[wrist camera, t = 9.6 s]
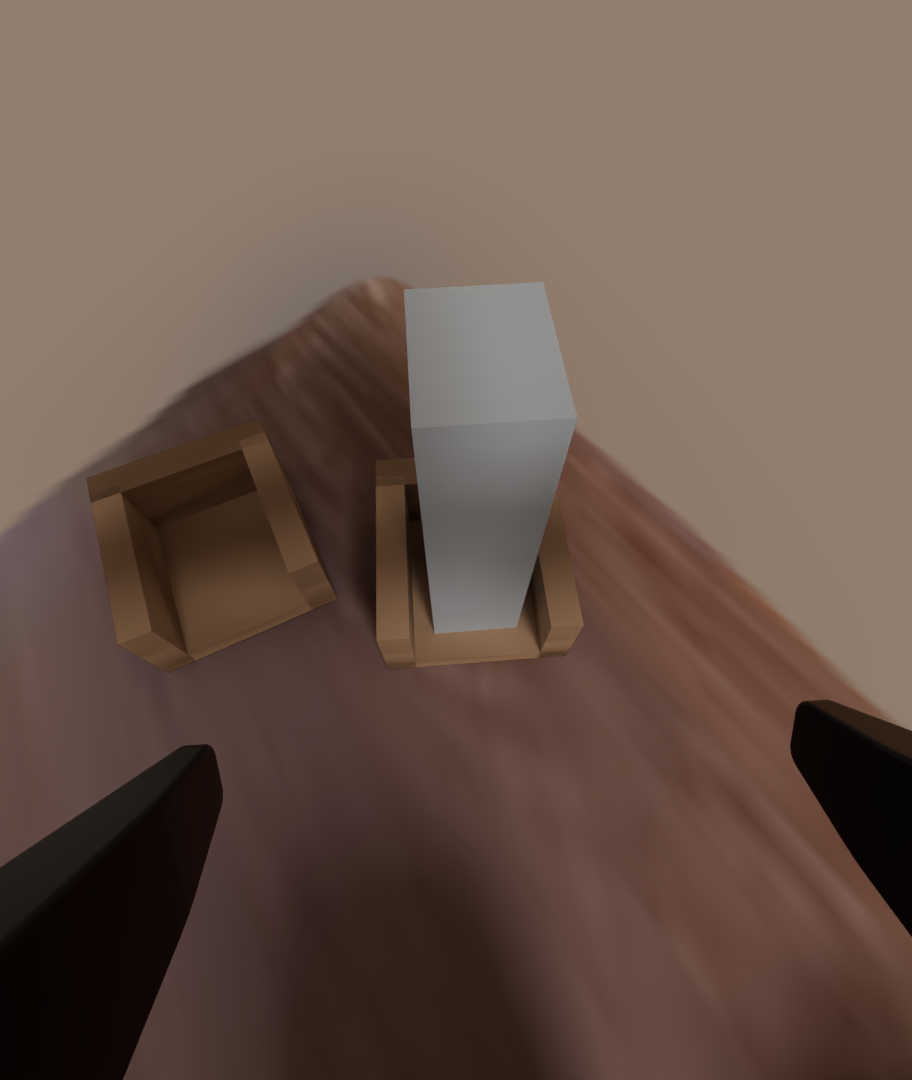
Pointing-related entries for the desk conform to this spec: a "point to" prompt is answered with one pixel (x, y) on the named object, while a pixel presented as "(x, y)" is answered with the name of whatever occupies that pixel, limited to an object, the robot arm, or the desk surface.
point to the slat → (485, 443)
